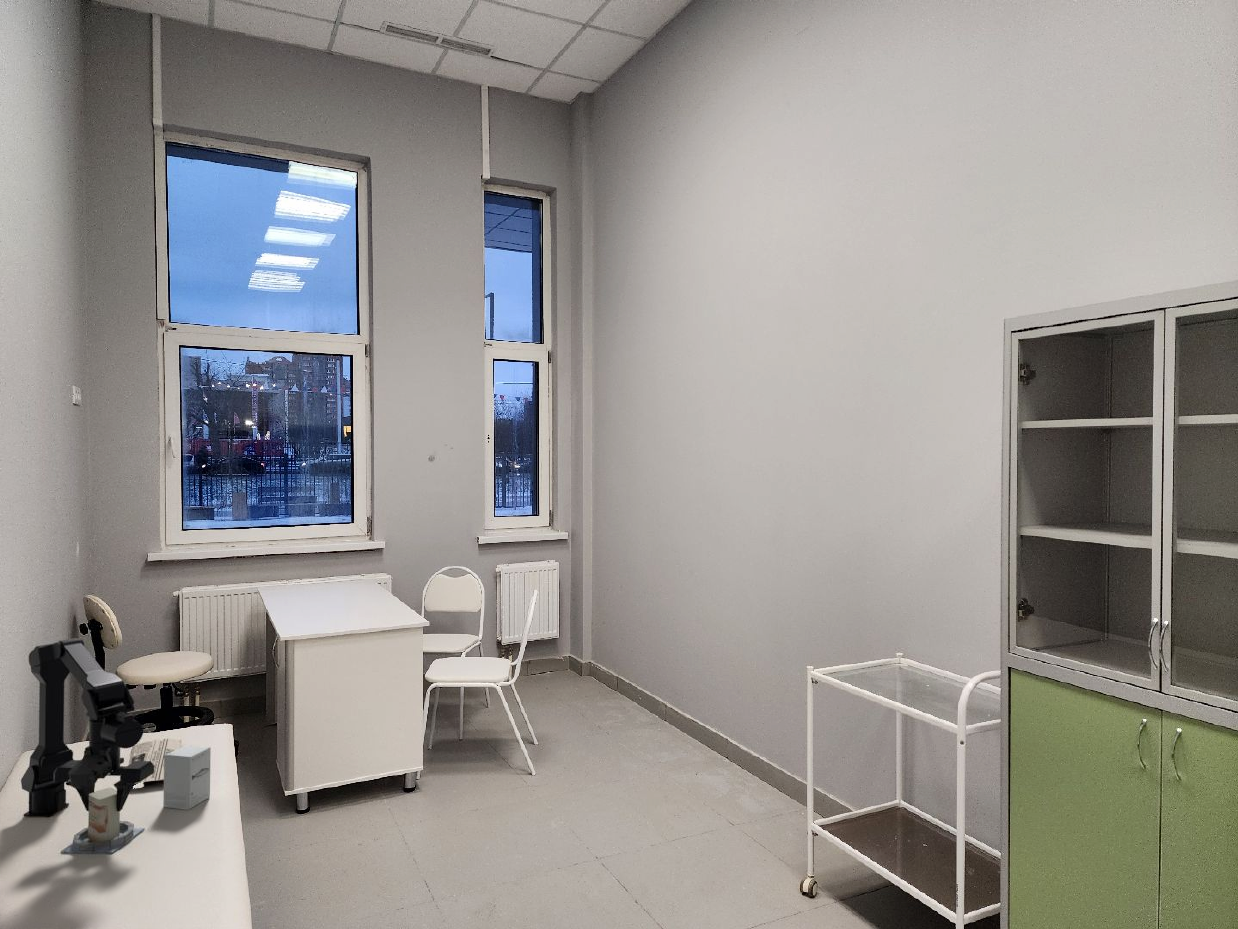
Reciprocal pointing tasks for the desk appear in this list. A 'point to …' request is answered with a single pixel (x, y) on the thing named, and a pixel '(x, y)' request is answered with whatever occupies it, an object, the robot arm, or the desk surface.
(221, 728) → the desk surface
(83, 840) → the collar
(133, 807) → the desk surface
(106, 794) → the skincare box
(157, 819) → the desk surface
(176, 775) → the supplement box
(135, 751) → the newspaper
